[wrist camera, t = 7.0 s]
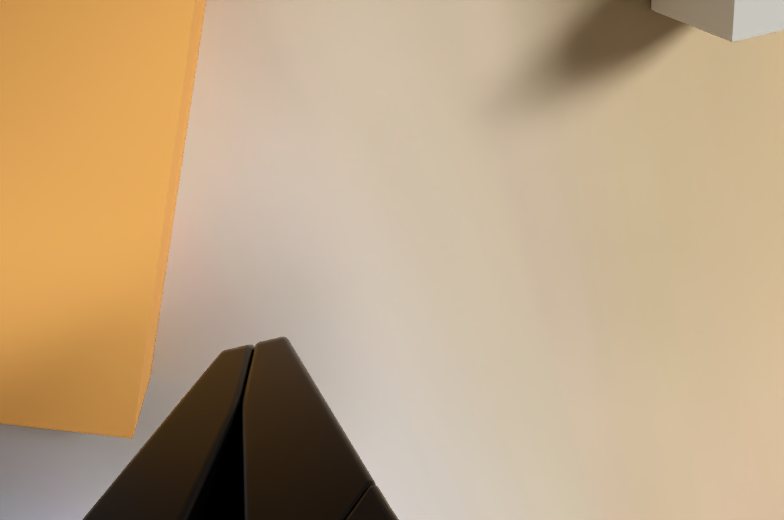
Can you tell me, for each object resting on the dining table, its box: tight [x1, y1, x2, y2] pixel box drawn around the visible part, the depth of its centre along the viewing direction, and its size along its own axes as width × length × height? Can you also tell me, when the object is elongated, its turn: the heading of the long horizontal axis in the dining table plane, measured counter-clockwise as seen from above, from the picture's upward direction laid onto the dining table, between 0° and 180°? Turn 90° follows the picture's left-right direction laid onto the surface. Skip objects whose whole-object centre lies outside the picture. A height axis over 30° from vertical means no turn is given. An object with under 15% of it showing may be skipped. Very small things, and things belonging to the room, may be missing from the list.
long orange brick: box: [0, 0, 206, 438], centre depth 14 cm, size 12×4×3 cm, turn 164°
